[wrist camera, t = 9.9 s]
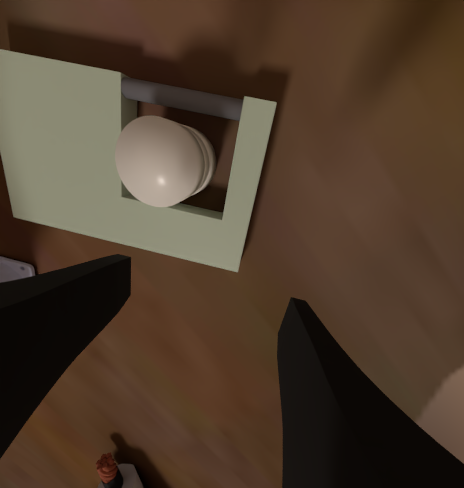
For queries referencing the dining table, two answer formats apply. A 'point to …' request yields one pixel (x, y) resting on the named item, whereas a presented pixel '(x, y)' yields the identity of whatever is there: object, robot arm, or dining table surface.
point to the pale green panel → (103, 158)
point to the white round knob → (163, 160)
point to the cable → (117, 474)
